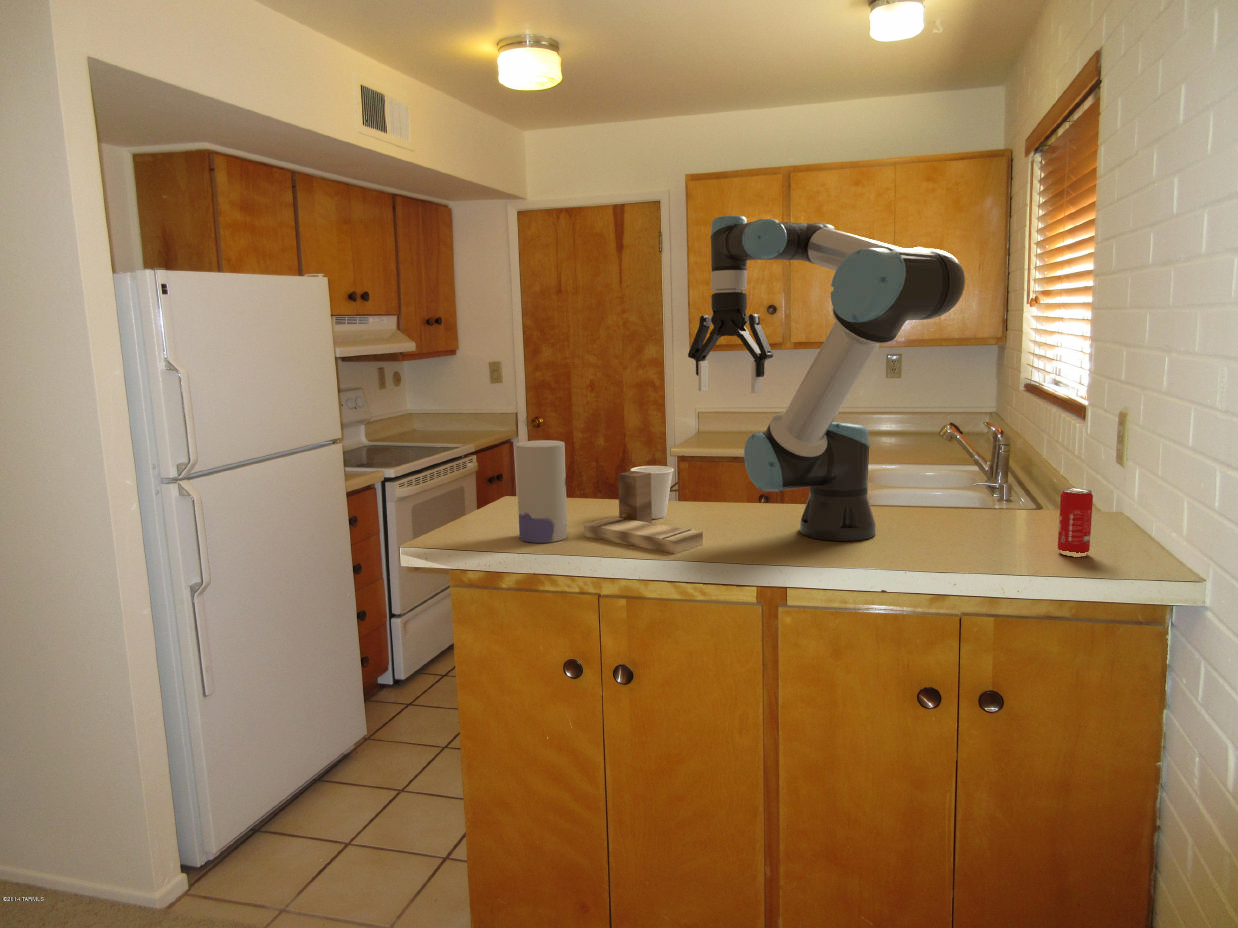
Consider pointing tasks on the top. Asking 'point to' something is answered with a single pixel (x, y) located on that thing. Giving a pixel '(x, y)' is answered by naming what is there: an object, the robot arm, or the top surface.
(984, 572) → the top surface
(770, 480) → the robot arm
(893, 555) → the top surface
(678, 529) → the plank
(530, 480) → the container
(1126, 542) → the top surface
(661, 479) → the cup
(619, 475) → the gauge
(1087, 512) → the beverage can
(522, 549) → the top surface
